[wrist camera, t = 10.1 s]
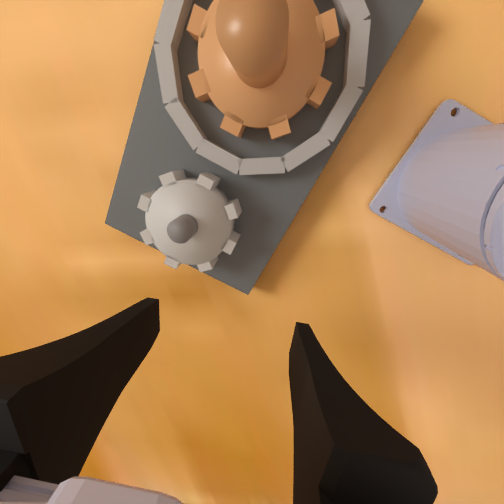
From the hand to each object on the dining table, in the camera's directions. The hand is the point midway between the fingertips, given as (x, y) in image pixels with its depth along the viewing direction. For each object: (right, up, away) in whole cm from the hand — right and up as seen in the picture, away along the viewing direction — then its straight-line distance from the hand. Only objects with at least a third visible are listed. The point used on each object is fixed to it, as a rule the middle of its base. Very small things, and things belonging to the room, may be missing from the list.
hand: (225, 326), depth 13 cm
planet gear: (+2, +15, +2) cm, 15 cm away
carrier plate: (0, +12, +5) cm, 13 cm away
